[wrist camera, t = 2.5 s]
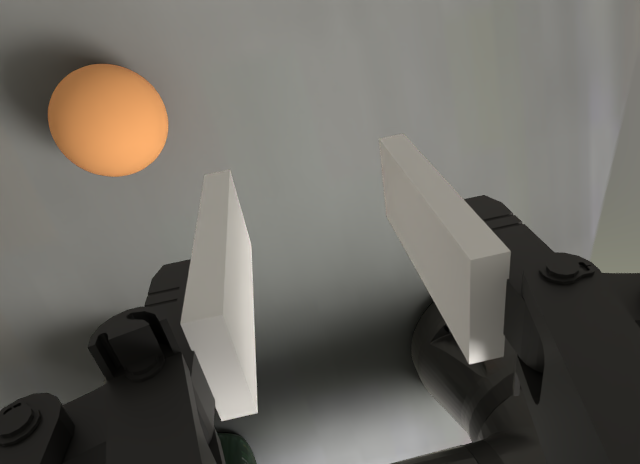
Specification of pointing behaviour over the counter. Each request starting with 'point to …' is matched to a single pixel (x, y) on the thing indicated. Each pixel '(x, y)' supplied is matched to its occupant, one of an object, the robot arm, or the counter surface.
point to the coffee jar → (236, 449)
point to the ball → (108, 120)
